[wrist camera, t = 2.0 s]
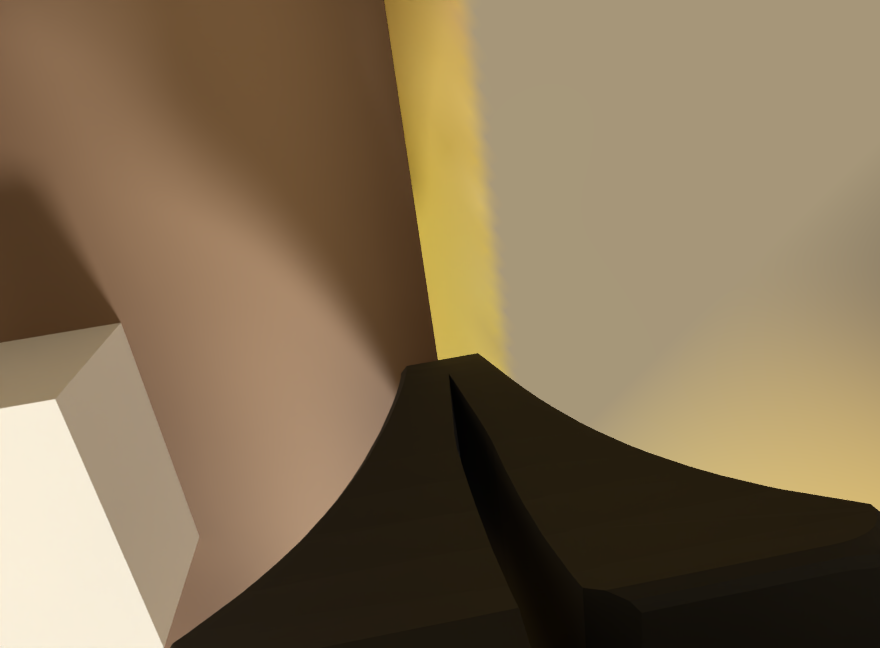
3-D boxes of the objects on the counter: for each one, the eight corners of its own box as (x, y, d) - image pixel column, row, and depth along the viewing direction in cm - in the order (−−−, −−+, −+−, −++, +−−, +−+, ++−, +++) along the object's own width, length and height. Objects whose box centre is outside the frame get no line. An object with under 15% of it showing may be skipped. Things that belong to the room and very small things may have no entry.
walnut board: (270, -668, 8) (232, -1012, 6) (454, 516, 17) (474, 608, 14) (-676, -598, 8) (-1237, -951, 5) (-1, 603, 16) (-75, 718, 13)
